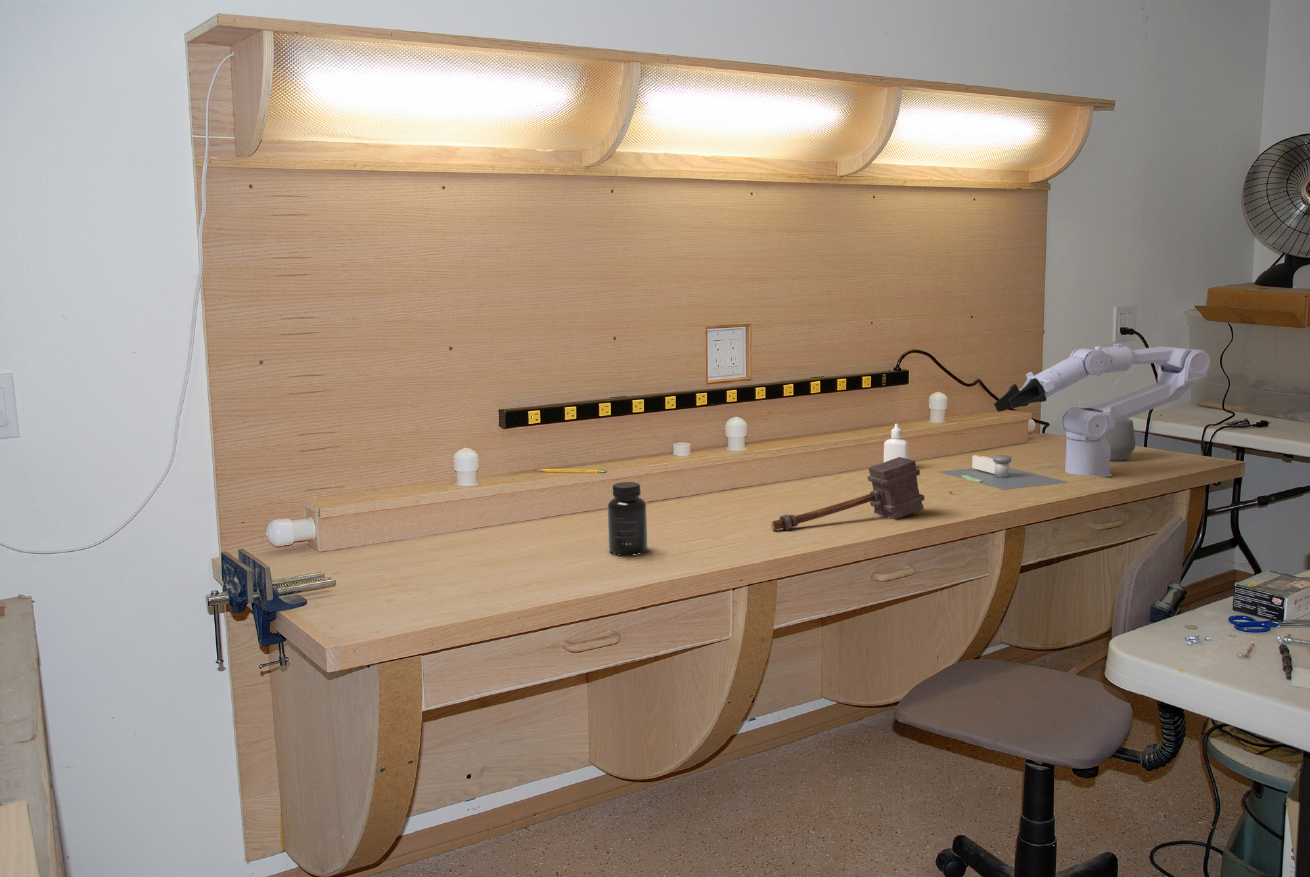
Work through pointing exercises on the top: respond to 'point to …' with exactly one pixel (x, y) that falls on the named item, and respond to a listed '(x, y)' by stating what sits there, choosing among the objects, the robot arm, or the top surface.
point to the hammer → (875, 494)
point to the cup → (1121, 440)
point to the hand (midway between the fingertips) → (1003, 406)
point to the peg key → (992, 464)
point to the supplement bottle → (627, 520)
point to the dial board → (1011, 482)
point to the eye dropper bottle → (895, 445)
